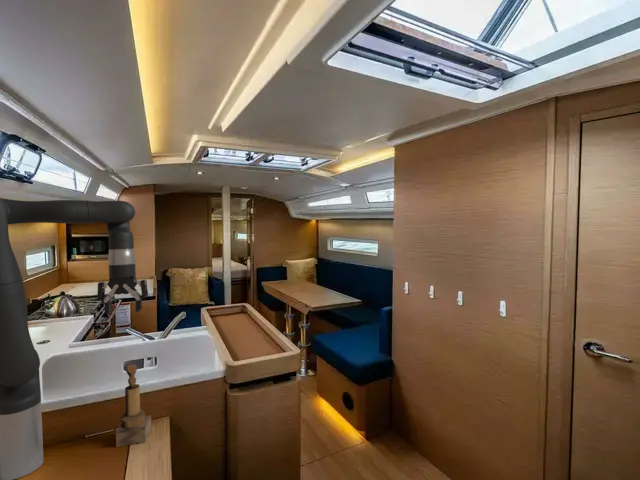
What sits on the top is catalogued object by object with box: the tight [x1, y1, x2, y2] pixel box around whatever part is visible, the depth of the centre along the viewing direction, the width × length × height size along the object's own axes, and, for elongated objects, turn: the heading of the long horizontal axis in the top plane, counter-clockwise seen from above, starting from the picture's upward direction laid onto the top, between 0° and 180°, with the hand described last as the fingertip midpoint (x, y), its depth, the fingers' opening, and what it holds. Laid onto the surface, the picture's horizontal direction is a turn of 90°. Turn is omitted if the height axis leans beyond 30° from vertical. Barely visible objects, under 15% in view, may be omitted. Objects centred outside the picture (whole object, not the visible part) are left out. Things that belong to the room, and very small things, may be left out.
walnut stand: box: [115, 415, 152, 448], centre depth 104 cm, size 8×6×5 cm
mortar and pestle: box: [120, 363, 146, 428], centre depth 104 cm, size 7×6×18 cm
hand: (123, 312), depth 109 cm, fingers open, 8 cm apart
